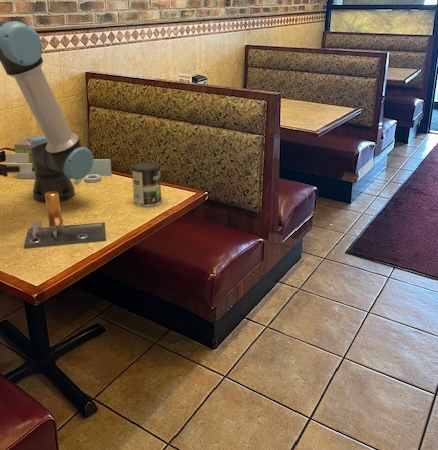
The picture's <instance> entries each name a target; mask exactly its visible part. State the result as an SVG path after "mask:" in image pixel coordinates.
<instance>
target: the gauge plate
mask: <svg viewBox="0 0 438 450" xmlns="http://www.w3.org/2000/svg"><path fill="white" fill-rule="evenodd" d="M30 223H31V224H30V227H29V228H28V230H27V233H26V236H25V241H24V244H23V246H24V249H32V248H42V247H53V246H63V245H73V244H83V243H94V242H95V243H96V242H106V241H107V236H106V235H107V234H106V233H107V232H106V223H105V222H95V223H94V222H92V223H80V224H71V225H63V230H57V238H56V239H55V238H54V234H53V231H49V226H46V227H43V224H42V221H33V222H30Z"/></svg>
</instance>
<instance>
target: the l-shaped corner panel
mask: <svg viewBox="0 0 438 450" xmlns="http://www.w3.org/2000/svg"><path fill="white" fill-rule="evenodd" d="M108 176H109V177H111V176H112V165H111V159H109V158H107V159H105V158H104V159H102V158H100V159H99V158H98V159H97V158H96V159H94V162H93V166H92V169H91V171H90V172H89V174H88V175H87V176H85V177H84V178H82V179H78V180H76V179H75V185H76V186H78V185H80V183H81V182H82V180H83V181H84V182H85V183H89V184H90V183H92V184H94V183H97V182H99V181H100V182H101V180H102V177H108Z"/></svg>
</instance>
